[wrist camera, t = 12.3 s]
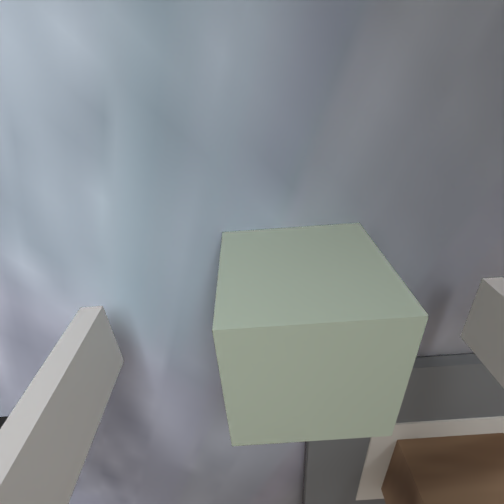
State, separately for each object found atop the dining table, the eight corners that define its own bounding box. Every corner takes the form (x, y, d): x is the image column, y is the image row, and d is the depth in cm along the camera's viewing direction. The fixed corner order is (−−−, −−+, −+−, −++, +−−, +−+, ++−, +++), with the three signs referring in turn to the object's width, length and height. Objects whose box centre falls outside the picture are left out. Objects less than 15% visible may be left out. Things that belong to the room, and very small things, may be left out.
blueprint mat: (310, 364, 15) (313, 376, 15) (639, 342, 15) (655, 353, 15) (302, 518, 25) (303, 529, 24) (506, 504, 25) (512, 515, 24)
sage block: (222, 231, 12) (212, 330, 7) (358, 221, 12) (428, 315, 7) (234, 329, 14) (231, 446, 10) (345, 322, 14) (391, 435, 10)
